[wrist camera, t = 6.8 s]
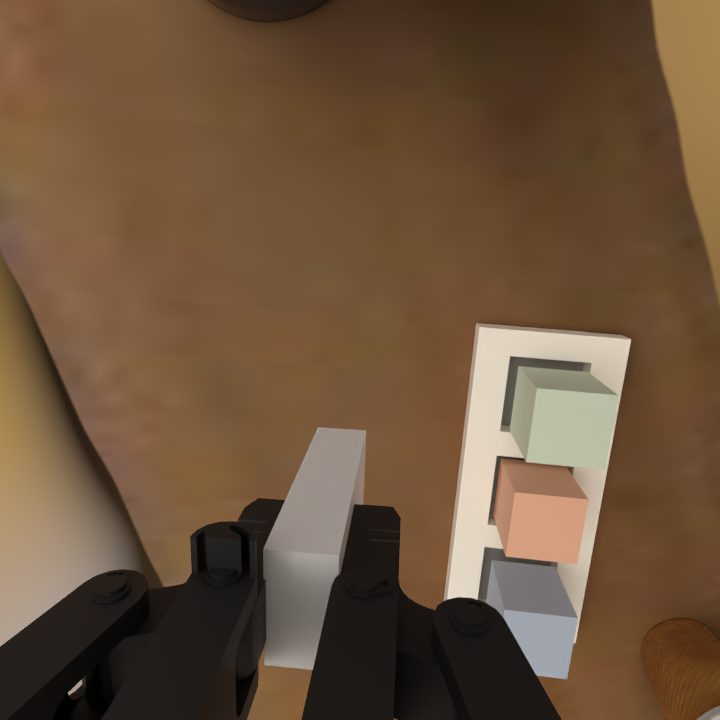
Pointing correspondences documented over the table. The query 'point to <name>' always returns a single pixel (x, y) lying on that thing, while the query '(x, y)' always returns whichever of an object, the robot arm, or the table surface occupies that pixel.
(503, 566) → the slate block
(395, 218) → the table surface
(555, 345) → the board
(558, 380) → the sage block
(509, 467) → the terracotta block
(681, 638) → the disposable coffee cup
